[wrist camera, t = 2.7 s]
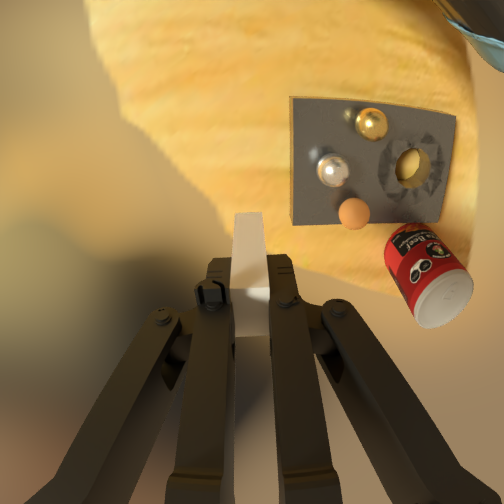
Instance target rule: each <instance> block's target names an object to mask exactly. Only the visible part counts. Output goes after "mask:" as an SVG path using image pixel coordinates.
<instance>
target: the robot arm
mask: <svg viewBox="0 0 504 504" xmlns="http://www.w3.org/2000/svg"><path fill="white" fill-rule="evenodd" d="M432 1H433V2H434V3H435V4H436V5H437V6H438V7H439V8H440V9H441V10H442V11H443V15H444V17H445V18H446V19H447V20H448V22H449V23H450V24H451V25H452V26H454V27H455V28H456V29H457V30H459V31H460V32H461V33H462V34H463V35H464V37H465V38H466V39H467V40H468V41H469V42H470V44H471V45H472V46H473V47H474V48H475V50H476V51H477V53H478V54H479V55H480V56H481V57H482V58H483V59H484V60H485V61H486V62H487V63H488V64H490V65H491V66H492V67H494V68H495V69H497V70H498V71H500V72H503V73H504V0H432ZM194 291H195V295H196V301H197V307H195V308H194V309H192V310H189V311H186V312H182V313H178V312H177V311H176V310H175V309H174V308H171V307H162V308H158V309H156V310H155V311H152V313H151V314H150V315H149V316H148V318H147V319H146V321H145V322H144V324H143V325H142V327H141V328H140V330H139V332H138V333H137V335H136V336H135V338H134V339H133V341H132V343H131V344H130V346H129V347H128V349H127V351H126V352H125V354H124V355H123V357H122V358H121V360H120V362H119V363H118V365H117V367H116V368H115V370H114V372H113V373H112V375H111V376H110V378H109V380H108V382H107V383H106V385H105V387H104V388H103V390H102V392H101V394H100V395H99V397H98V399H97V400H96V402H95V404H94V405H93V407H92V409H91V411H90V412H89V414H88V416H87V418H86V419H85V421H84V423H83V425H82V426H81V428H80V430H79V432H78V433H77V435H76V437H75V439H74V441H73V443H72V444H71V447H70V448H69V450H68V452H67V454H66V456H65V457H64V459H63V461H62V463H61V465H60V467H59V469H58V471H57V473H56V475H55V477H54V478H53V479H52V480H51V481H49V482H48V483H47V484H46V485H45V486H44V487H43V488H42V489H40V490H39V491H38V492H37V493H36V494H35V495H33V496H32V497H31V498H30V499H29V500H28V501H27V502H25V503H24V504H128V502H129V500H130V498H131V496H132V493H133V491H134V489H135V487H136V484H137V482H138V480H139V477H140V475H141V473H142V470H143V468H144V466H145V464H146V461H147V459H148V456H149V454H150V452H151V450H152V447H153V445H154V443H155V441H156V439H157V436H158V434H159V432H160V430H161V427H162V425H163V423H164V421H165V418H166V416H167V414H168V412H169V409H170V407H171V405H172V402H173V400H174V398H175V396H176V394H177V391H178V389H179V387H180V385H181V382H182V380H183V378H184V376H185V373H186V371H187V374H186V380H185V387H184V395H183V402H182V409H181V417H180V425H179V434H178V442H177V451H176V459H175V467H174V471H173V473H172V474H171V475H170V476H169V478H168V481H167V485H166V494H165V504H235V498H234V414H235V412H234V411H235V363H236V344H235V337H242V336H266V335H270V356H271V369H272V383H273V399H274V413H275V429H276V447H277V463H278V481H279V504H343V502H342V494H341V487H340V482H339V477H338V474H337V472H336V471H335V470H334V468H333V465H332V459H331V452H330V446H329V439H328V433H327V427H326V421H325V416H324V409H323V403H322V398H321V392H320V386H319V381H318V375H317V370H316V365H315V359H314V354H316V357H317V359H318V361H319V363H320V364H321V366H322V368H323V370H324V372H325V374H326V376H327V378H328V380H329V382H330V384H331V386H332V388H333V389H334V391H335V393H336V395H337V397H338V399H339V401H340V403H341V405H342V407H343V409H344V411H345V413H346V415H347V417H348V418H349V420H350V422H351V424H352V426H353V428H354V430H355V432H356V434H357V436H358V438H359V440H360V442H361V444H362V446H363V448H364V450H365V452H366V453H367V456H368V457H369V459H370V461H371V463H372V465H373V467H374V469H375V471H376V473H377V475H378V477H379V479H380V481H381V483H382V485H383V487H384V489H385V491H386V493H387V495H388V497H389V498H390V500H391V501H392V503H393V504H502V503H501V498H500V496H499V495H498V494H497V493H496V492H495V491H494V490H492V489H491V488H490V487H488V486H487V485H486V484H484V483H483V482H481V481H480V480H479V479H477V478H476V477H475V476H473V475H472V474H471V473H469V472H468V471H467V470H465V469H464V468H463V467H461V466H460V464H459V462H458V461H457V459H456V457H455V456H454V454H453V452H452V451H451V449H450V448H449V446H448V444H447V443H446V441H445V440H444V438H443V436H442V435H441V433H440V432H439V430H438V428H437V427H436V425H435V424H434V422H433V420H432V419H431V417H430V416H429V414H428V413H427V411H426V410H425V408H424V407H423V405H422V403H421V402H420V401H419V399H418V397H417V396H416V394H415V393H414V392H413V390H412V389H411V387H410V385H409V384H408V382H407V381H406V380H405V378H404V377H403V375H402V374H401V372H400V371H399V369H398V368H397V367H396V365H395V364H394V362H393V361H392V359H391V358H390V356H389V355H388V354H387V352H386V351H385V349H384V348H383V347H382V345H381V344H380V342H379V341H378V339H377V338H376V337H375V335H374V334H373V332H372V331H371V330H370V328H369V327H368V325H367V324H366V323H365V321H364V320H363V319H362V317H361V316H360V314H359V313H358V312H357V310H356V309H355V308H354V306H353V305H352V304H351V303H350V302H348V301H345V300H343V299H331V300H329V301H326V303H325V304H323V306H318V305H313V304H309V303H307V302H305V301H304V300H303V299H302V298H301V296H300V295H299V293H298V288H297V284H296V279H295V274H294V269H293V265H292V260H291V259H290V258H289V257H288V256H287V255H286V254H277V255H266V247H265V237H264V227H263V217H262V212H250V213H235V221H234V234H233V249H232V257H230V258H213V260H212V261H211V262H210V263H209V264H208V270H207V275H206V279H205V280H203V281H201V282H199V283H198V284H197V285H196V287H195V289H194ZM313 353H314V354H313Z"/></svg>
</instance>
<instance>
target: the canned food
mask: <svg viewBox="0 0 504 504" xmlns="http://www.w3.org/2000/svg"><path fill="white" fill-rule="evenodd" d="M384 259H385V264H386V267H387V269H388V270H389V272H390V274H391V276H392V277H393V279H394V281H395V283H396V285H397V286H398V288H399V290H400V292H401V294H402V296H403V297H404V299H405V301H406V303H407V305H408V307H409V309H410V310H411V313H412V314H413V316H414V318H415V320H416V321H417V322H418V324H419V325H420V326H421V327H423V328H428V329H429V328H436V327H439V326H442V325H444V324H446V323H448V322H449V321H451V320H452V319H454V318H455V317H456V316H457V315H458V314H459V313H460V312H461V311H462V310H463V309H464V308H465V306H466V305H467V303H468V302H469V300H470V298H471V295H472V292H473V285H474V284H473V280H472V278H471V276H470V275H469V273H468V272H467V270H466V269H465V268H464V266H463V265H462V264H461V263H460V262H459V260H458V259H457V258H456V257H455V256H454V255H453V253H452V252H451V251H450V250H449V249H448V248H447V247H446V245H445V244H444V243H443V242H442V241H441V240H440V239H439V238H438V237H437V235H436V234H435V233H434V232H433V231H432V230H431V229H430V228H429V227H428V226H426V225H423V224H421V223H409V224H405V225H403V226H402V227H400V228H399V229H397V230H396V231H395V232H394V233H393V234H392V235H391V237H390V238H389V240H388V242H387V244H386V247H385V251H384Z"/></svg>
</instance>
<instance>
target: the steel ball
mask: <svg viewBox="0 0 504 504" xmlns="http://www.w3.org/2000/svg"><path fill="white" fill-rule="evenodd" d="M316 173H317V176H318V178H319V180H320V181H321V182H322V183H323V184H324V185H326V186H328V187H332V188H336V187H340V186H342V185H344V184H345V183H346V182H347V181H348V179H349V177H350V173H351V169H350V165H349V163H348V161H347V160H346V159H345V158H344V157H343V156H342V155H340V154H336V153H329V154H326V155H324V156H323V157H322V158H321V159H320V160H319V161H318V163H317V167H316Z"/></svg>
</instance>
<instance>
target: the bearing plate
mask: <svg viewBox="0 0 504 504" xmlns="http://www.w3.org/2000/svg"><path fill="white" fill-rule="evenodd" d="M289 107H290V218H291V221H292V225H293V226H297V225H328V224H342V223H341V221H340V219H339V208H340V206H341V204H342V203H343V202H344V201H345V200H347V199H349V198H359V199H361V200H363V201H364V202H365V203H366V204H367V205H368V207H369V210H370V218H369V221H368V223H438V220H439V216H440V212H441V208H442V203H443V198H444V194H445V189H446V184H447V178H448V173H449V167H450V161H451V154H452V147H453V139H454V131H455V121H456V116H454V115H451V114H448V113H445V112H441V111H436V110H431V109H426V108H420V107H414V106H408V105H401V104H394V103H386V102H378V101H369V100H358V99H346V98H329V97H297V96H289ZM366 108H375V109H378V110H380V111H382V112H383V113H384V114H385V116H386V117H387V119H388V122H389V131H388V133H387V135H386V137H385V138H383V139H382V140H380V141H377V142H369V141H366V140H364V139H363V138H361V137H360V136H359V134H358V133H357V131H356V129H355V118H356V116H357V114H358V113H359V112H360V111H361V110H363V109H366ZM410 148H417V150H418V153H419V156H420V162H419V168H418V169H417V171H416V172H415V174H414V175H413V176H412V177H410V178H408V179H406V180H397V177H396V174H395V168H396V162H397V160H398V158H399V157H400V155H401V154H402V153H403V152H404V151H406V150H408V149H410ZM329 153H336V154H340V155H342V156H343V157H344V158H345V159H346V160H347V161H348V163H349V165H350V169H351V173H350V177H349V179H348V181H347V182H346V183H345V184H344V185H342V186H340V187H336V188H332V187H328V186H326V185H324V184H323V183H322V182H321V181H320V180H319V178H318V176H317V173H316V167H317V163H318V161H319V160H320V159H321V158H322V157H323V156H324V155H326V154H329Z"/></svg>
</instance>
